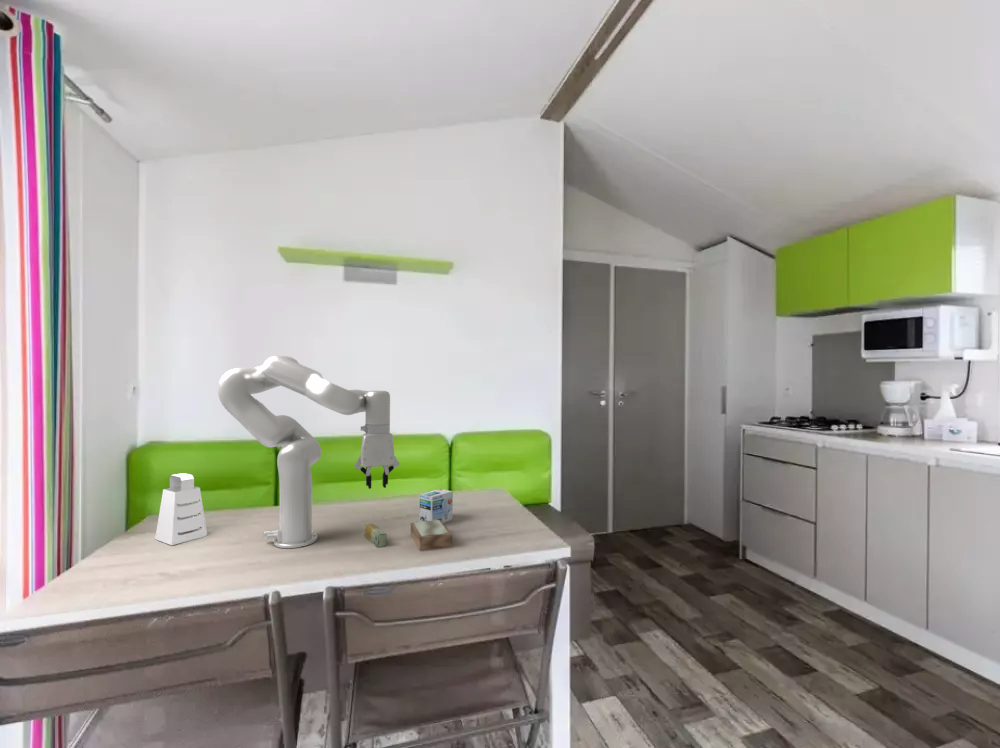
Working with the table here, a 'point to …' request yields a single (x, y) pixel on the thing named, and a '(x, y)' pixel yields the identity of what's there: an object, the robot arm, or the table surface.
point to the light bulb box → (436, 505)
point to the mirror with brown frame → (431, 535)
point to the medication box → (375, 535)
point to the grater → (180, 511)
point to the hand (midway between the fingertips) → (376, 486)
